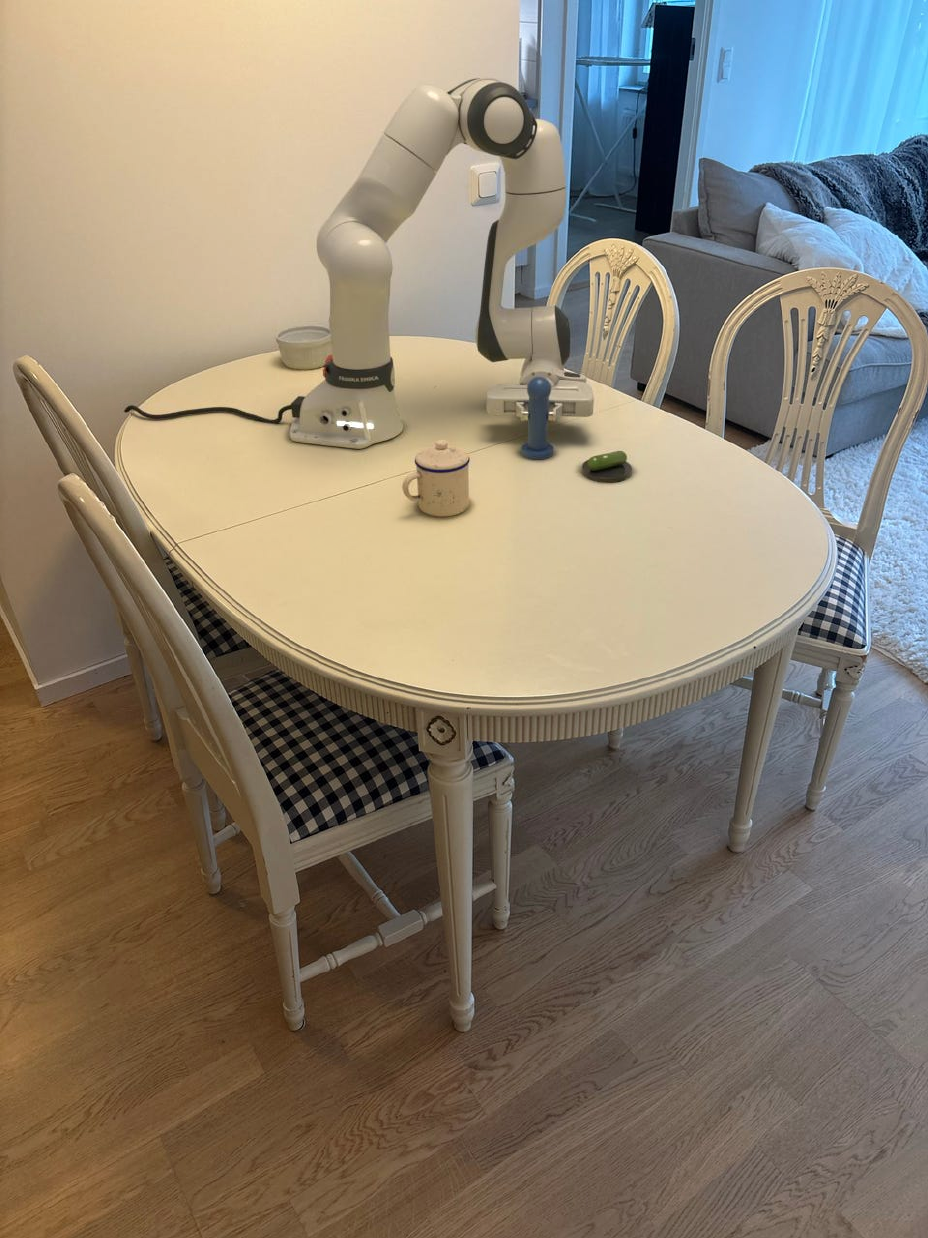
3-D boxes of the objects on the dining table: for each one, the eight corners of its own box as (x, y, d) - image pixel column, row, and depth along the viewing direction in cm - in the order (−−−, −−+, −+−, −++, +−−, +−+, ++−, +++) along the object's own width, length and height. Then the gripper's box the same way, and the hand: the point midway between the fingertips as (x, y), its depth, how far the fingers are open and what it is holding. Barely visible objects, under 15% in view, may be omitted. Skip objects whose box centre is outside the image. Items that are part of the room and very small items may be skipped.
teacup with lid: (453, 488, 160) (451, 426, 154) (480, 509, 154) (479, 444, 147) (392, 506, 156) (388, 442, 149) (418, 527, 149) (414, 462, 142)
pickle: (597, 486, 160) (599, 468, 158) (572, 466, 167) (573, 449, 165) (641, 476, 163) (643, 458, 161) (614, 457, 170) (615, 440, 168)
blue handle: (520, 459, 170) (521, 383, 162) (522, 446, 175) (523, 371, 166) (552, 460, 169) (555, 383, 161) (553, 446, 174) (556, 371, 166)
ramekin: (271, 370, 212) (267, 340, 208) (289, 352, 223) (286, 323, 219) (326, 372, 210) (323, 342, 206) (342, 354, 221) (339, 325, 217)
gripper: (488, 373, 178) (481, 399, 166) (593, 374, 176) (594, 401, 164) (488, 404, 181) (482, 431, 170) (591, 406, 179) (592, 434, 168)
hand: (538, 417), depth 167 cm, fingers closed on blue handle, 3 cm apart
